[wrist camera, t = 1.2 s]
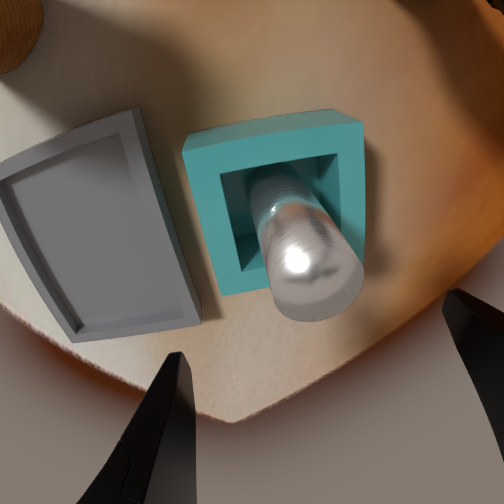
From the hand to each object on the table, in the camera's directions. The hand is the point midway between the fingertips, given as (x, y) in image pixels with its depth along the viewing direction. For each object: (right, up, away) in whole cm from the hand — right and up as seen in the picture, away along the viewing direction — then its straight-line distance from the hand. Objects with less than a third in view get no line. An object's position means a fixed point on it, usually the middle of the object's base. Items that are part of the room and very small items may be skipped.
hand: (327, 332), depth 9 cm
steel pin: (-1, +7, +11) cm, 13 cm away
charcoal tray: (-14, +3, +12) cm, 18 cm away
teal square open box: (-1, +7, +11) cm, 13 cm away
